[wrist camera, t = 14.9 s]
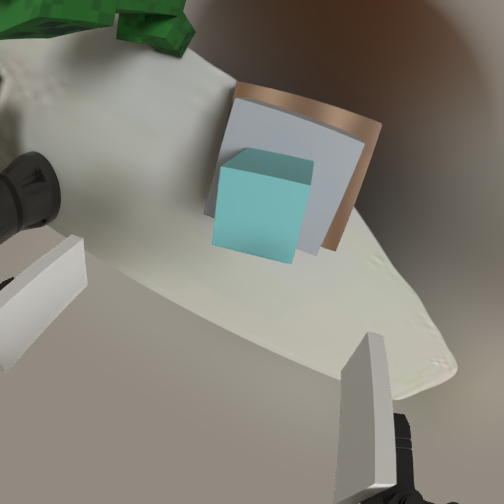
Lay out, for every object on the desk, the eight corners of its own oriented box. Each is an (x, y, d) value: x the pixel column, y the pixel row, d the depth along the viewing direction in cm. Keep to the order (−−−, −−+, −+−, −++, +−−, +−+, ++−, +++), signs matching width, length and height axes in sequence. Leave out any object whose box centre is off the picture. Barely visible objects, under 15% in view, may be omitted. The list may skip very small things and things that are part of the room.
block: (239, 207, 30) (212, 244, 23) (248, 147, 27) (220, 166, 20) (300, 221, 29) (291, 264, 22) (314, 161, 26) (310, 185, 19)
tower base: (223, 196, 43) (209, 211, 37) (249, 83, 34) (236, 81, 29) (334, 230, 41) (335, 251, 36) (373, 119, 33) (382, 123, 28)
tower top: (221, 195, 36) (203, 214, 31) (250, 97, 30) (235, 97, 25) (317, 231, 36) (316, 256, 30) (357, 135, 29) (365, 143, 24)
